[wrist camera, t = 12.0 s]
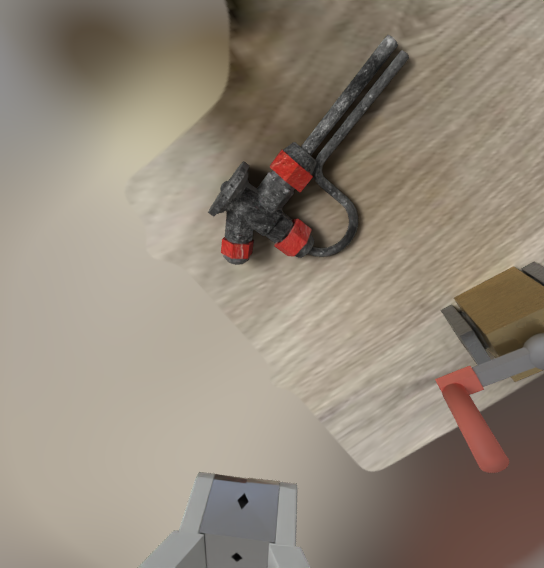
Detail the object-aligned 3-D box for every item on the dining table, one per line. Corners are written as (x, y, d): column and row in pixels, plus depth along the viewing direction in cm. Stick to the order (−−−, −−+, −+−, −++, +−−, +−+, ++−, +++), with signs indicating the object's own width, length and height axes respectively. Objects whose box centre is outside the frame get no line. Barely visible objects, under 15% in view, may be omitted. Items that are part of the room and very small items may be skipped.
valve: (289, 290, 44) (192, 223, 39) (446, 120, 35) (347, 6, 31) (294, 317, 39) (182, 243, 34) (483, 123, 30) (368, -16, 25)
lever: (553, 327, 31) (645, 400, 23) (563, 351, 32) (655, 431, 24) (432, 376, 35) (472, 455, 26) (444, 396, 36) (486, 479, 27)
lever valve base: (531, 256, 37) (589, 289, 30) (555, 302, 39) (614, 344, 32) (437, 306, 41) (467, 346, 33) (463, 345, 43) (497, 392, 35)
